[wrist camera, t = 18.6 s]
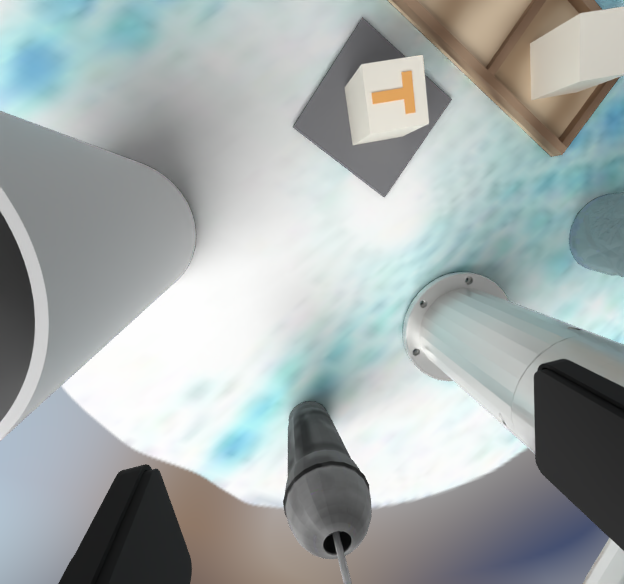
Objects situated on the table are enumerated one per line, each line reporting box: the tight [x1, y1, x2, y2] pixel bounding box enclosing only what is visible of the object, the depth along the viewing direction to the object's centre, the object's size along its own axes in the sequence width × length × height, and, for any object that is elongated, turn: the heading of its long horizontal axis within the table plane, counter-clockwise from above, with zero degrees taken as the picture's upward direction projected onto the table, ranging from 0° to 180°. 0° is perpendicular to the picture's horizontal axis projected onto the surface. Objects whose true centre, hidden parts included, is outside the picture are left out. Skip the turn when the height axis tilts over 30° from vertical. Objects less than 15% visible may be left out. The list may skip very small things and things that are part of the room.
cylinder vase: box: [0, 111, 196, 441], centre depth 21 cm, size 12×12×25 cm
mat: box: [293, 17, 452, 197], centre depth 33 cm, size 11×11×1 cm
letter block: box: [345, 55, 429, 145], centre depth 30 cm, size 5×5×6 cm
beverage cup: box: [283, 401, 372, 584], centre depth 31 cm, size 7×7×20 cm
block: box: [530, 7, 624, 100], centre depth 32 cm, size 5×5×6 cm
